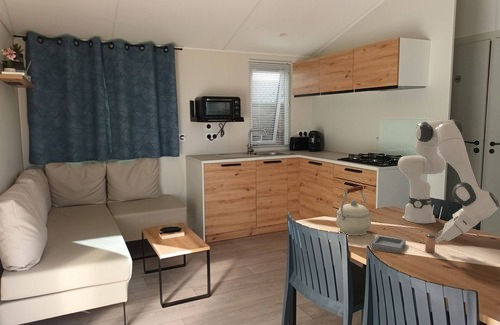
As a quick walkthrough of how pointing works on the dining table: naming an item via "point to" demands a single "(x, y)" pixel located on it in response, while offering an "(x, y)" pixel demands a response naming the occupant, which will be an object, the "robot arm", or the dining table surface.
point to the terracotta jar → (430, 243)
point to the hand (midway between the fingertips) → (437, 238)
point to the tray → (388, 244)
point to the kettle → (353, 215)
